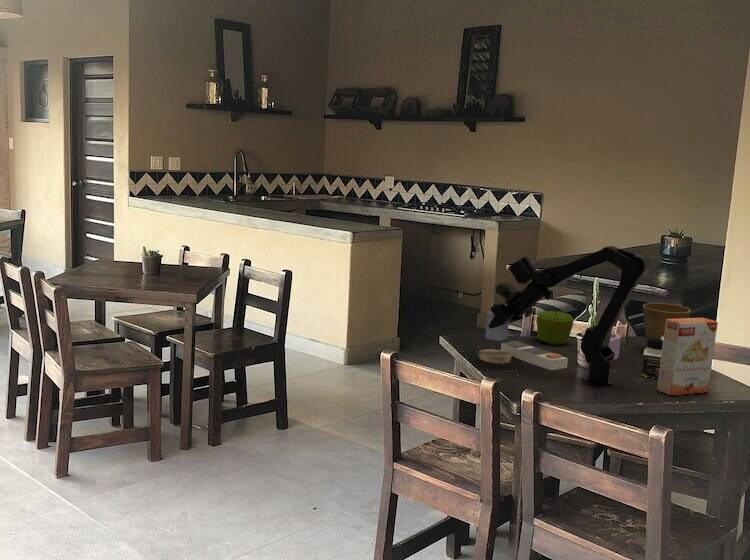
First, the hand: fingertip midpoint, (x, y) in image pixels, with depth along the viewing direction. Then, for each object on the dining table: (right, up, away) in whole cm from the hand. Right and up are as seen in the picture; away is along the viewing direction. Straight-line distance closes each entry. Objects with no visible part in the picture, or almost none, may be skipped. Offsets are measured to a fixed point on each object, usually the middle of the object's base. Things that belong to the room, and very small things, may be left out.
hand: (493, 326), depth 248 cm
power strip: (+13, -11, +3) cm, 17 cm away
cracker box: (+50, -18, -22) cm, 57 cm away
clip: (+38, -10, +18) cm, 43 cm away
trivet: (0, -11, +1) cm, 11 cm away
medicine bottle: (+47, -15, -7) cm, 50 cm away
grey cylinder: (+1, -4, 0) cm, 4 cm away
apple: (+25, -8, +28) cm, 38 cm away
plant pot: (+59, -11, +20) cm, 63 cm away
